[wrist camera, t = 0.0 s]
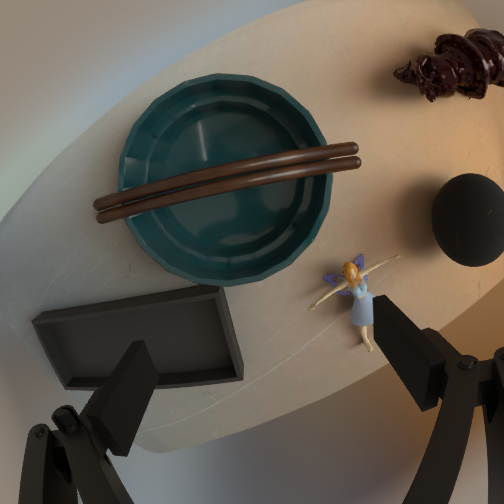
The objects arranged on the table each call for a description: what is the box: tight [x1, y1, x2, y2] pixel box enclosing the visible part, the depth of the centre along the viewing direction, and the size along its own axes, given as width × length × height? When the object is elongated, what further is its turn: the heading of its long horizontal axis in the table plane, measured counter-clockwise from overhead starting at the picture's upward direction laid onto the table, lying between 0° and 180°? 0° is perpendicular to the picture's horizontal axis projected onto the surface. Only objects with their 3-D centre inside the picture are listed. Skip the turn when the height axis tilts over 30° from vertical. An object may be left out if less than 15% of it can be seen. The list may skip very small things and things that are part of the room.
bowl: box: [118, 73, 333, 287], centre depth 27 cm, size 18×18×6 cm
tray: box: [31, 284, 244, 391], centre depth 33 cm, size 11×26×3 cm, turn 102°
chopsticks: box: [93, 142, 361, 224], centre depth 23 cm, size 23×2×1 cm, turn 102°
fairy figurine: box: [308, 254, 401, 352], centre depth 31 cm, size 12×5×12 cm
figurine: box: [393, 28, 504, 102], centre depth 23 cm, size 10×10×18 cm
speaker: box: [432, 173, 504, 267], centre depth 26 cm, size 10×10×10 cm
